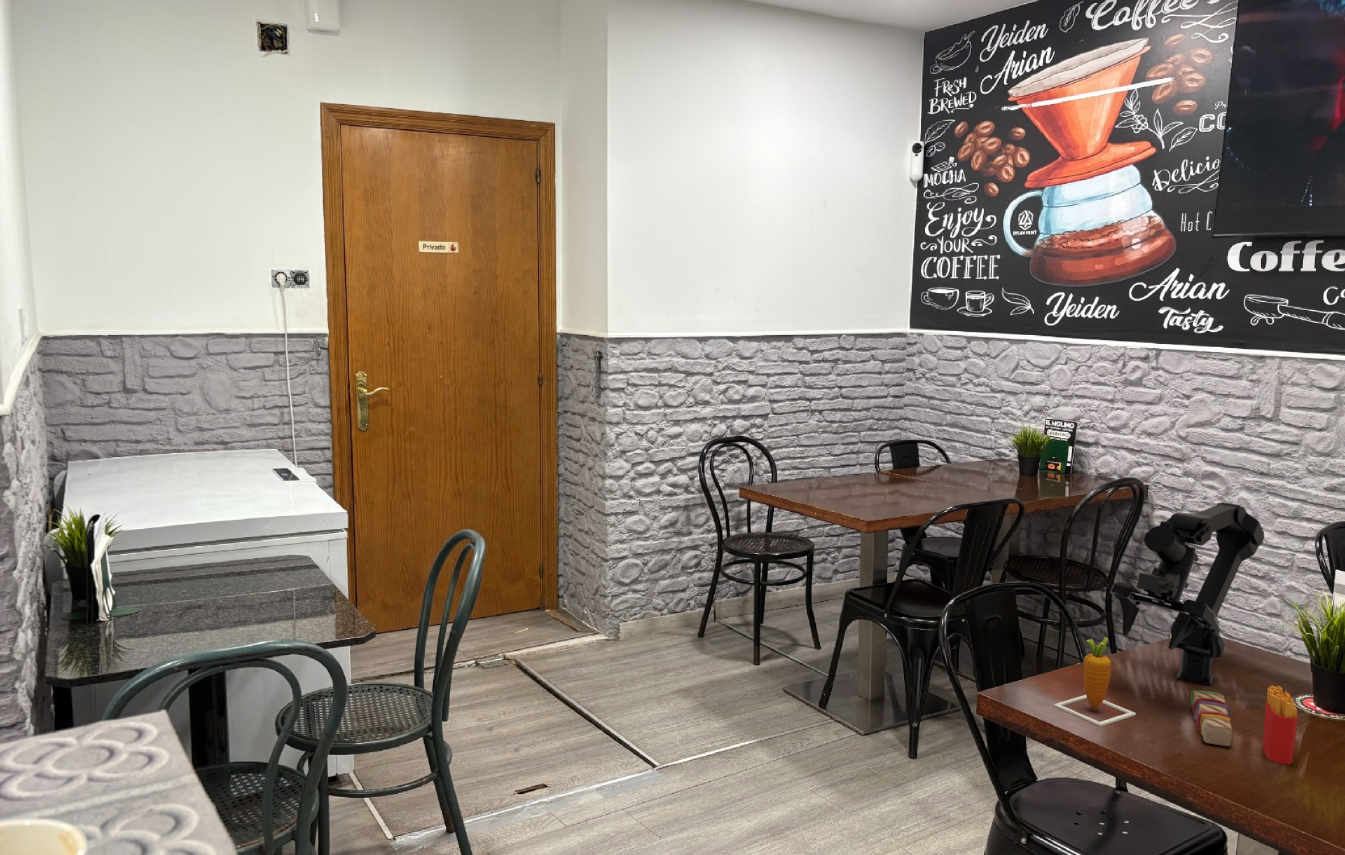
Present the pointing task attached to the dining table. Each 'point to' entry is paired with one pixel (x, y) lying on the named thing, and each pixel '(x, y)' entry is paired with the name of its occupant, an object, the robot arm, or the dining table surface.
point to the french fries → (1279, 726)
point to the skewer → (1212, 717)
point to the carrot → (1096, 674)
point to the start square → (1102, 723)
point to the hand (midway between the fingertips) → (1146, 642)
